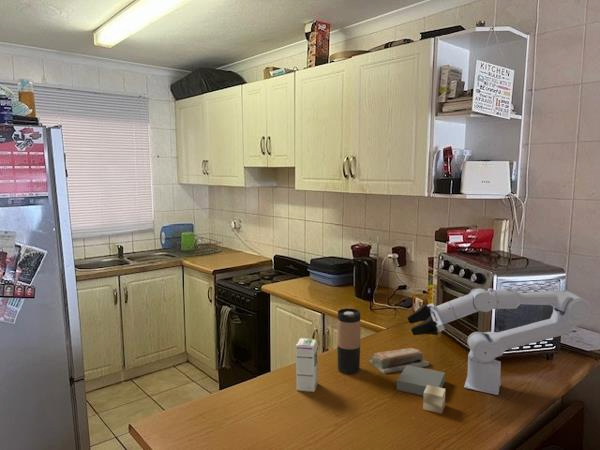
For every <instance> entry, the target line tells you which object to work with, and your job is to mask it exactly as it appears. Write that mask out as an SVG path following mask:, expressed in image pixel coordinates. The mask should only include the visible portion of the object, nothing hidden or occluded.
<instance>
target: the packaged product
mask: <svg viewBox="0 0 600 450" xmlns="http://www.w3.org/2000/svg"><path fill="white" fill-rule="evenodd" d="M423 356H424V353H423V352H422V351H421V350H420V349H417V348H413V347H408V348H407V347H406V348H401V349H394V350H387V351H380V352H379V351H378V352H375V353H373V357H372V359H369V360H368V362H369V363H370V364H372V366H374V367H375V368H376V369H377V370H378V371H380V372H381V373H382V374H384V375H385V374H390V373H396V372H403V370H404V369H405V367H406V365H410V366H415V367H420V368H425V367H429V366H430V362H429V361H427V360H426V359H423Z"/></svg>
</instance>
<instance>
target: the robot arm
mask: <svg viewBox="0 0 600 450" xmlns="http://www.w3.org/2000/svg"><path fill="white" fill-rule="evenodd" d="M521 305H532V306H533V305H537V306H538V305H540V306H541V305H542V306H543V305H544V306H551V307H553V310H552V313H551V315H550V318H548V319H543V320H540V321H536V322H532V323H529V324H525V325H521V326H520V325H519V326H518V327H517V326H516V327H514V328H510V329H506V330H505V329H504V330H503V331H499V332H498V331H497V332H496V331H495V332H494V331H486V332H481V331H474V332H472V333H470V334H469V335H468V337H467V341H466V342H467V346H468V347H469V349H470V350H469V352H468V355H467V376H466V378H465V383H464V385H463V386H464V387H463V388H464V389H468V390H472V391H478V392H481V393H487V394H492V395H497V396H498V395H500V394H499V392H500V387H502V386H501V385H502V380H501V370H502V369H501V368H502V367H501V365H502V362H501V361H500V360H497V359H496V358H498V357H501V356H503V354H504V353H505V351H506V350H510V349H515V348H517V347H523V346H526V345H530V344H534V343H538V342H542V341H546V340H549V339H550V340H551V339H553V338H557V337H561V336H565V335H568V334H569V333H570V332H572V330H573V329H575V328H576V327H577V326H578V325H580V324H581V323H584V322H587V321H588V320H589V317H590V315H591V312H592V306H591V304H590V301H588V300H586V299H585V298H584V297H583V298H582V297H580V295H578V294H575V293H574V292H573V291H571V290H567V289H564V290H560V289H554V290H544V291H531V292H529V291H528V292H518V291H517V290H515V289H513V288H511V287H509V286H508V287H507V286H505V287H504V289H493V288H491V287H490V288H488V289H487V290H486V289H484V288H472V290H470V292H469V293H467V294H465V295H462V296H460V297H457V298H454V299H452V300H449V301H446V302H444V303H441V304H439V305H436V306H435V304H434V303H433V302H431V303H430V304H427V305H426V303H422V304H421V306H420V307H419V308H418V309H417V310H415V312H413V313H412V314H410V315H408V316H407V318H406V319H407V321H408V323H409V324H415V323H419V322H420V323H419V324H416V325H415V326H413V327H411V328H410V330H411V333H412V335H413V336H420V335H432V336H439V332H442V331H445V330H446V328H445V326H444V325H445V324H448V323H450V322H454V321H456V320H459V319H462V318H464V317H467V316H470V315H472V314H475V313H478V312H482V313H484V312H485V313H488V312H490V311H492V310H502V309H503V310H505V309H509V310H511V309H512V310H513V309H514V310H516V309H517V308H518V307H519V306H521Z"/></svg>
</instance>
